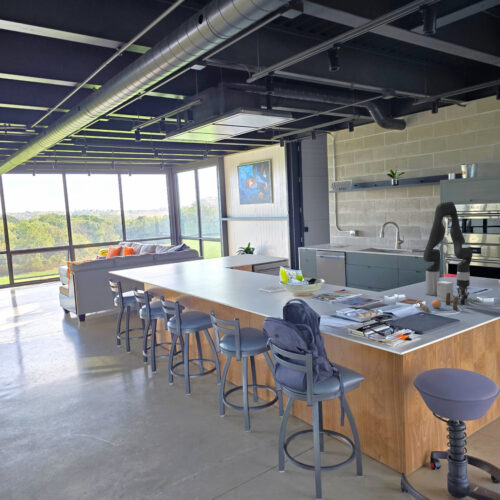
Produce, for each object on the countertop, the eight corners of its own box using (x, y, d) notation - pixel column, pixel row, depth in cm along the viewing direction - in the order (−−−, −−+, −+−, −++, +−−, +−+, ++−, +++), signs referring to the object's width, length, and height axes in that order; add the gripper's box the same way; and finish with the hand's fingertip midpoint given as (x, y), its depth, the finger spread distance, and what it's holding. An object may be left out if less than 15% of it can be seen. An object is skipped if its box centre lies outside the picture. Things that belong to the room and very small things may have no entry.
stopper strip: (416, 304, 292) (416, 300, 292) (419, 304, 292) (419, 300, 291) (425, 312, 272) (425, 308, 272) (428, 312, 272) (428, 308, 272)
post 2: (452, 309, 275) (452, 297, 274) (456, 309, 275) (456, 297, 274) (453, 310, 273) (454, 298, 272) (458, 310, 273) (458, 298, 272)
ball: (433, 308, 283) (428, 302, 282) (441, 303, 281) (435, 297, 281) (436, 311, 277) (431, 305, 277) (443, 306, 276) (438, 300, 275)
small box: (453, 301, 295) (453, 282, 294) (447, 302, 292) (447, 283, 291) (442, 298, 302) (443, 280, 301) (436, 300, 299) (437, 281, 298)
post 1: (445, 304, 288) (445, 292, 287) (449, 304, 288) (449, 292, 287) (446, 305, 285) (446, 293, 284) (450, 305, 285) (450, 293, 284)
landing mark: (423, 305, 288) (423, 304, 288) (443, 304, 287) (443, 304, 287) (430, 310, 275) (430, 310, 275) (451, 310, 274) (451, 309, 274)
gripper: (453, 276, 284) (452, 302, 286) (461, 280, 271) (460, 307, 273) (465, 276, 283) (464, 302, 286) (473, 280, 270) (473, 307, 272)
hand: (462, 304), depth 279 cm, fingers closed
